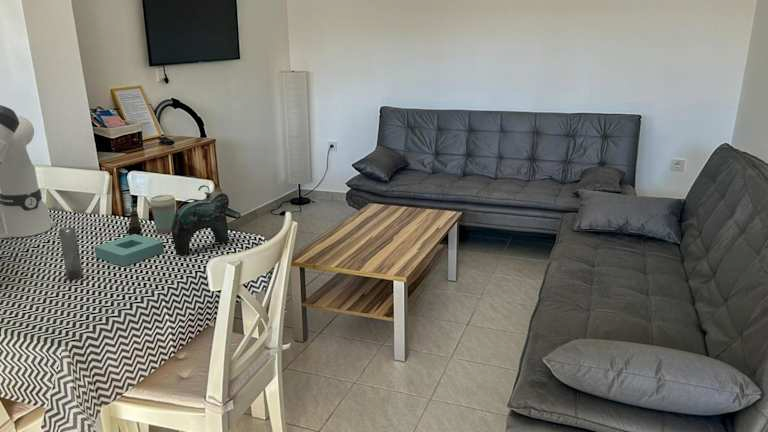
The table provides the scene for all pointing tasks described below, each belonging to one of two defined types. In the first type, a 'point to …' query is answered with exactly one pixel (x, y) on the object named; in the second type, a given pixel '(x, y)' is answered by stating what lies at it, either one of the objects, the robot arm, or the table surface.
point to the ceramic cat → (200, 219)
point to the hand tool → (134, 224)
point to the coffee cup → (163, 212)
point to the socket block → (129, 250)
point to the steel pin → (71, 253)
